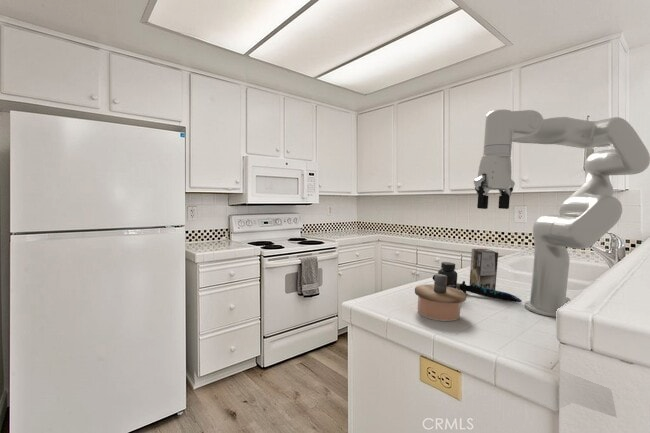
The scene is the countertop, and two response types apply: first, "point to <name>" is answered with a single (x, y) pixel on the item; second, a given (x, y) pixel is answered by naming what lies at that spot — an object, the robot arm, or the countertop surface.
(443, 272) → the supplement bottle
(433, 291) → the lid
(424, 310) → the bowl
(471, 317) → the countertop surface
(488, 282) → the coffee box
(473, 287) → the knife
